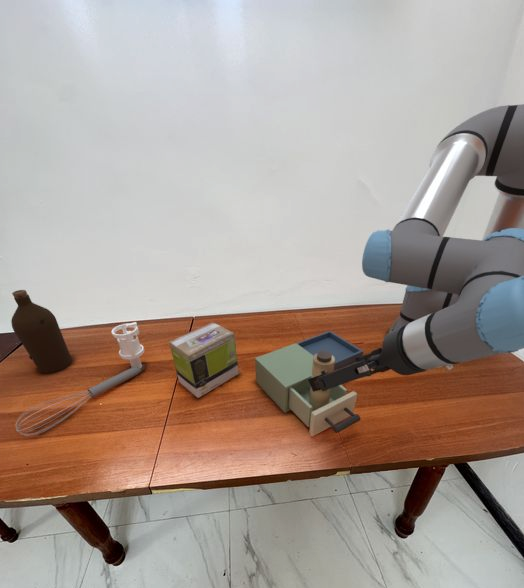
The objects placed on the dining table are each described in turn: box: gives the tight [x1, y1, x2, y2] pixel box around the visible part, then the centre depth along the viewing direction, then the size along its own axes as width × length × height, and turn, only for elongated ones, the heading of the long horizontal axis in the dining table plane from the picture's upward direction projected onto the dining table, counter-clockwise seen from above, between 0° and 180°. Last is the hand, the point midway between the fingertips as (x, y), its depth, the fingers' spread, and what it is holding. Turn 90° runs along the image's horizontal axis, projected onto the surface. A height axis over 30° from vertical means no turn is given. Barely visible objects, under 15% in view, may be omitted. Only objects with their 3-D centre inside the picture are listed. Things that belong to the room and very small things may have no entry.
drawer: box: [288, 380, 361, 437], centre depth 72 cm, size 18×13×7 cm
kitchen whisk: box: [15, 364, 146, 437], centre depth 79 cm, size 6×34×6 cm, turn 144°
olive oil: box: [10, 289, 73, 374], centre depth 88 cm, size 11×11×25 cm
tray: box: [296, 330, 364, 371], centre depth 96 cm, size 18×16×3 cm
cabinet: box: [254, 342, 313, 413], centre depth 81 cm, size 15×14×9 cm
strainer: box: [111, 321, 145, 370], centre depth 89 cm, size 7×7×15 cm
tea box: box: [168, 321, 240, 399], centre depth 83 cm, size 15×10×15 cm, turn 134°
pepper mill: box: [309, 351, 335, 412], centre depth 69 cm, size 5×5×16 cm
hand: (336, 373), depth 63 cm, fingers open, 13 cm apart
